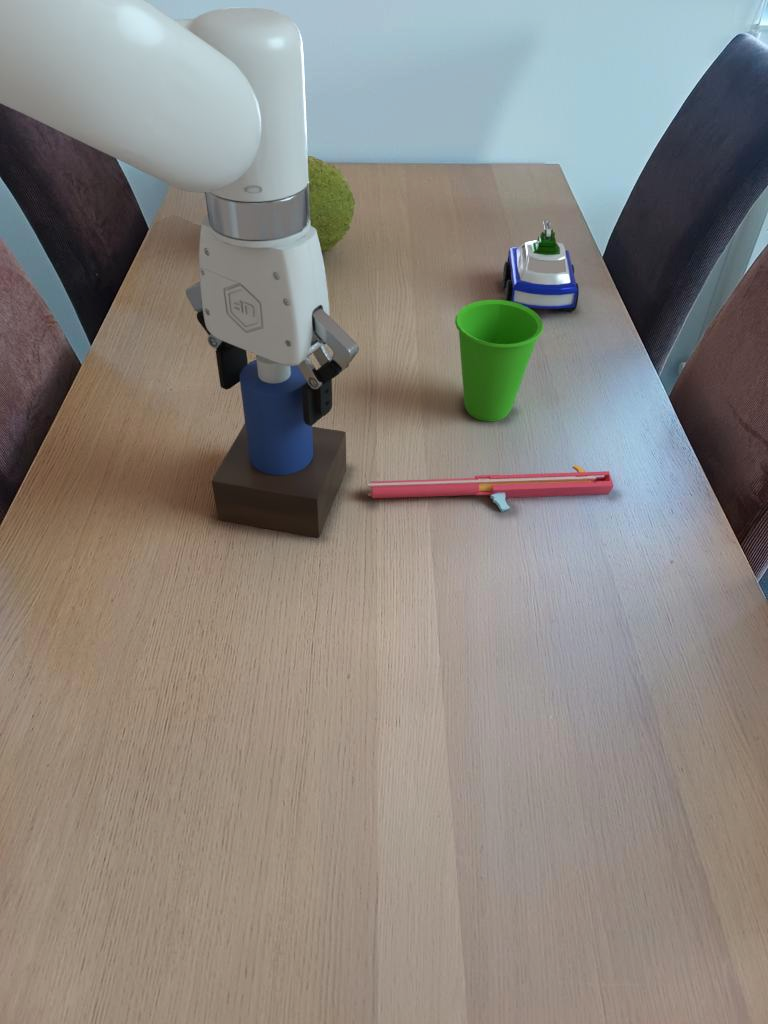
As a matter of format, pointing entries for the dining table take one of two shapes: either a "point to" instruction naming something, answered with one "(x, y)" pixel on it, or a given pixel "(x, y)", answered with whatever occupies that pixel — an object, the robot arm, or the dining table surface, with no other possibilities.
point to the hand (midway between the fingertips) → (275, 398)
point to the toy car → (541, 274)
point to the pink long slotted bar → (499, 486)
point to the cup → (495, 354)
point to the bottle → (275, 417)
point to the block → (281, 487)
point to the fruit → (329, 202)
